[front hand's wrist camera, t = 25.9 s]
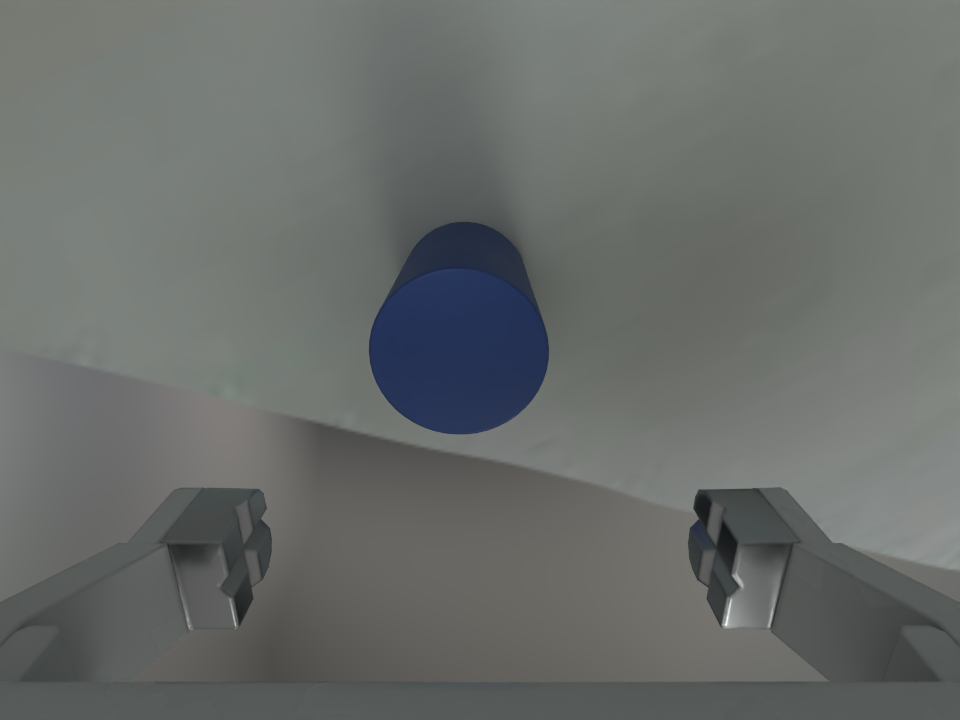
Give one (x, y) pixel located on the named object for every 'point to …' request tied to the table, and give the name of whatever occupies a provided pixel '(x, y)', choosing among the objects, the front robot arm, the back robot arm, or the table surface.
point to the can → (460, 333)
